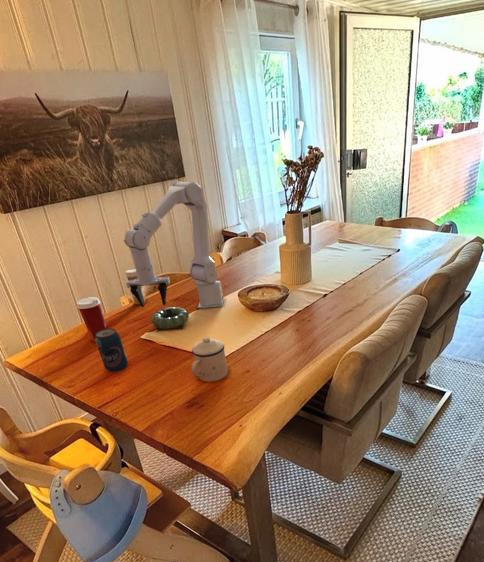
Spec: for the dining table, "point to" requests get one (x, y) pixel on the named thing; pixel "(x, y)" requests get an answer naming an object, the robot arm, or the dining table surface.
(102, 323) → the paper cup
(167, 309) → the holder
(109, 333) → the soda can
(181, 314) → the ring
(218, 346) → the teacup with lid
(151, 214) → the robot arm
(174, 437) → the dining table surface
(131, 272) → the sprinkles bottle
